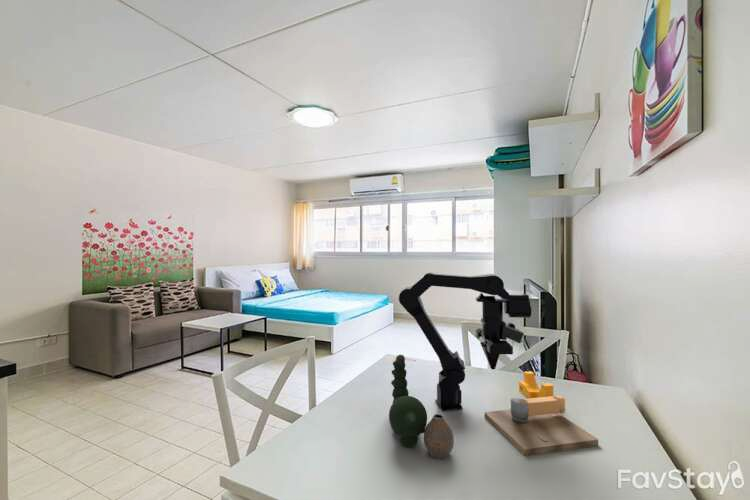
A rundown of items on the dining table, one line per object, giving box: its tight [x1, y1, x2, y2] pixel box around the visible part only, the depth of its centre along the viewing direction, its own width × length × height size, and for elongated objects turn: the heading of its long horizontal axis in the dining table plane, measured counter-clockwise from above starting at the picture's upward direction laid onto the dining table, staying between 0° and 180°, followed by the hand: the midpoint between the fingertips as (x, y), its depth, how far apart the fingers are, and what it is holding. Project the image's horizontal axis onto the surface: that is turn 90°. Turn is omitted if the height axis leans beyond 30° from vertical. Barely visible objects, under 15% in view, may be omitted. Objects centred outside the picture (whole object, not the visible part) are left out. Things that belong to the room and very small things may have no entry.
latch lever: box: [510, 395, 566, 419], centre depth 91 cm, size 16×4×4 cm, turn 101°
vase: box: [423, 413, 455, 459], centre depth 79 cm, size 7×7×9 cm
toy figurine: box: [388, 354, 428, 448], centre depth 88 cm, size 9×19×25 cm
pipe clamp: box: [518, 370, 554, 399], centre depth 107 cm, size 12×4×6 cm, turn 5°
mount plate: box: [484, 408, 599, 457], centre depth 88 cm, size 20×18×3 cm
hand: (492, 368), depth 100 cm, fingers closed
